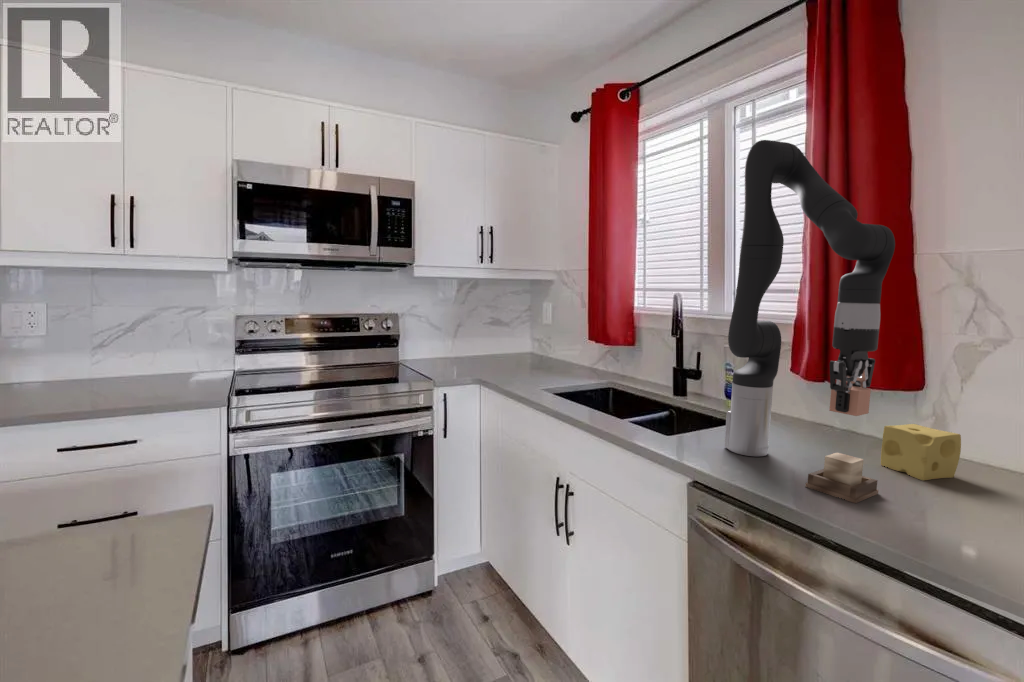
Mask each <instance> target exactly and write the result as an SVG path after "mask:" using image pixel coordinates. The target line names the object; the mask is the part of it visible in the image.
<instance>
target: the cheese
mask: <svg viewBox="0 0 1024 682" xmlns="http://www.w3.org/2000/svg"><path fill="white" fill-rule="evenodd" d="M881 441H882V443H881V450H880V451H881V452H880V465H882V467H884V466H885V467H884V468H887V467H888V468H887V469H891V470H893V471H897V472H901V473H906V474H907V475H908V476H909V475H910V476H909V477H912V478H915V479H918V480H920V481H928V480H936V479H948V478H949V479H950V478H951V479H952V478H955V474H956V472H957V469H958V464H959V461H960V457H961V451H962V436H961V434H960V433H956V432H952V431H951V432H950V431H946V430H941V429H935V428H932V427H927V426H924V425H919V424H916V423H908V424H898V425H896V424H895V425H884V427H883V432H882V440H881Z"/></svg>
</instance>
